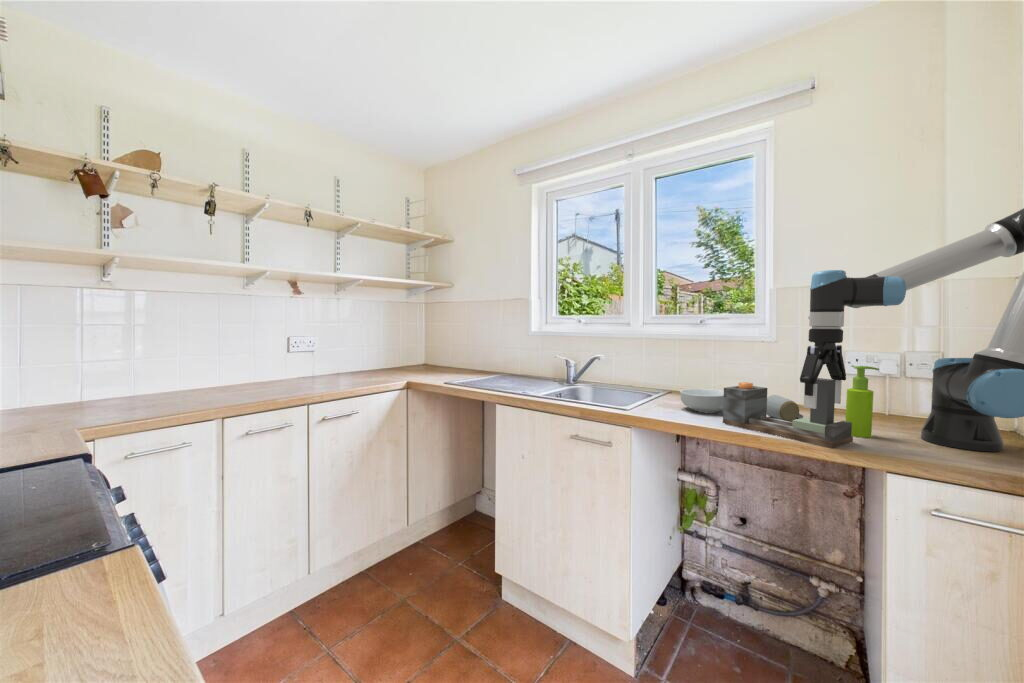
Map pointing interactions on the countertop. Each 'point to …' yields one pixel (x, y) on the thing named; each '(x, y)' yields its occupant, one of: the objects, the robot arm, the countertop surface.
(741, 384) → the button
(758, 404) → the rail track
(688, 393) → the cereal bowl
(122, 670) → the countertop surface
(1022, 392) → the robot arm
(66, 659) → the countertop surface
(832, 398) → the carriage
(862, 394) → the soap dispenser
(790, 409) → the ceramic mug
